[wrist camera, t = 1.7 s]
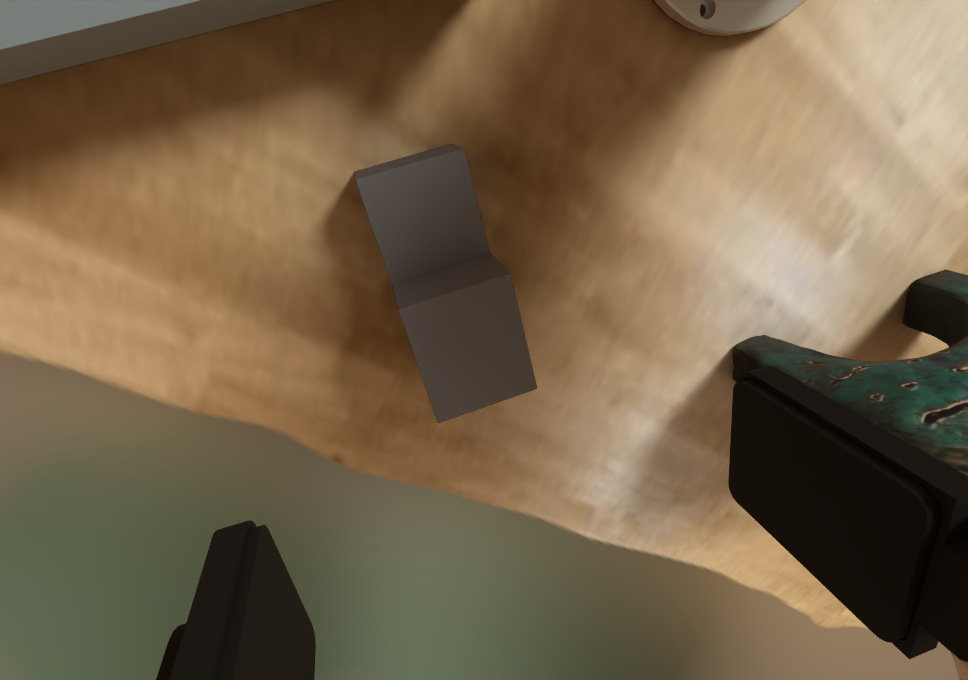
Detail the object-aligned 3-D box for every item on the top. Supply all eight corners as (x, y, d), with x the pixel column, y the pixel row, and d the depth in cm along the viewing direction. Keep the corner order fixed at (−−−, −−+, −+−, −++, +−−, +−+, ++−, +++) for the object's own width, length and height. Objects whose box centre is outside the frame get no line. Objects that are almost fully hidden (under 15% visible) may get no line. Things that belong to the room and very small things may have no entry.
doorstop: (450, 143, 26) (482, 154, 20) (499, 332, 31) (537, 388, 25) (354, 171, 26) (356, 190, 19) (419, 359, 31) (437, 423, 24)
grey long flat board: (434, -60, 22) (462, -112, 17) (442, -27, 23) (471, -68, 18) (-223, 102, 20) (-435, 99, 14) (-196, 135, 20) (-392, 144, 15)
